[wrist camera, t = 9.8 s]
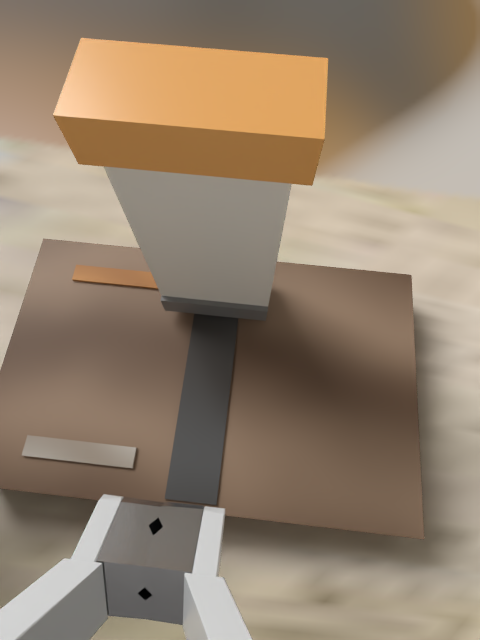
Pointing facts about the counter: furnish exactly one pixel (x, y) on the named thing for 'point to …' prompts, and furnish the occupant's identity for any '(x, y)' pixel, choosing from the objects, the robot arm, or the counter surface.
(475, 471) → the counter surface
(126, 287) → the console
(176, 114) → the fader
